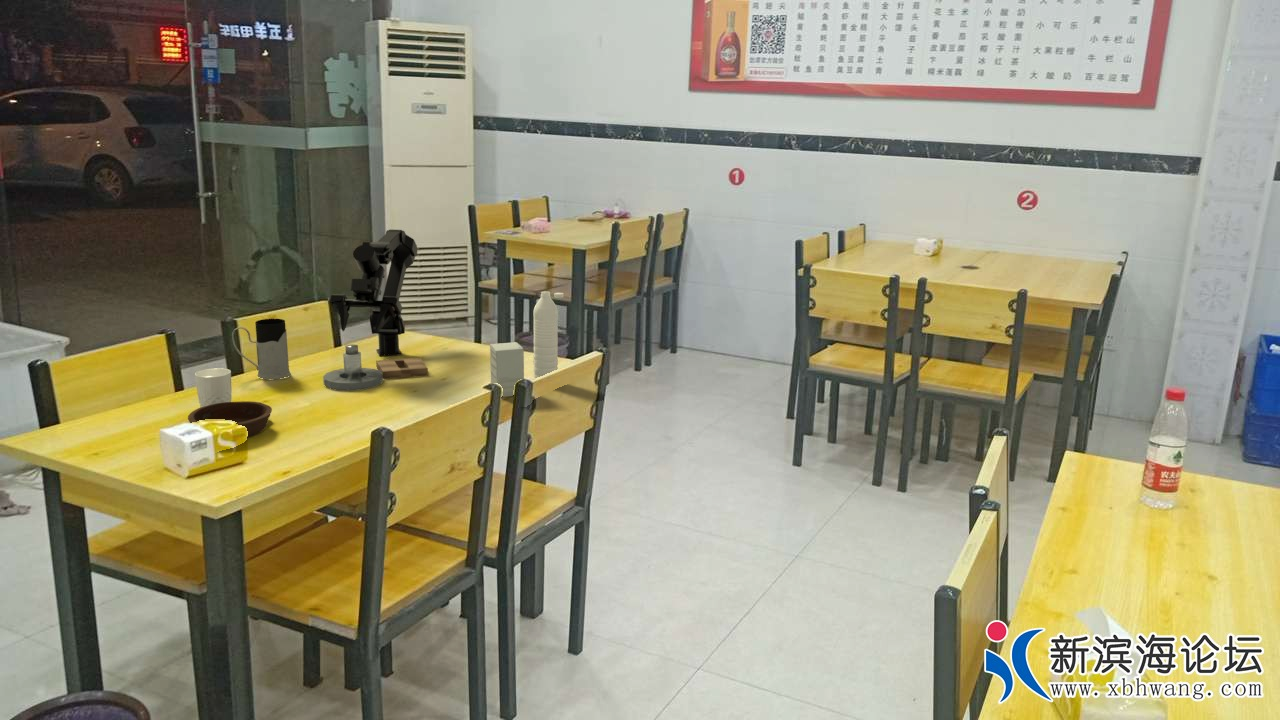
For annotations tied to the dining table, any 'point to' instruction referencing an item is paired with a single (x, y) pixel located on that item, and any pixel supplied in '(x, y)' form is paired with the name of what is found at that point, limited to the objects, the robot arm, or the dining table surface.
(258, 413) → the dish
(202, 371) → the white cup
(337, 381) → the round bore
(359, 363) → the grey small bottle
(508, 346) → the supplement box
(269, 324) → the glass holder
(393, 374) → the block
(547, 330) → the water bottle
